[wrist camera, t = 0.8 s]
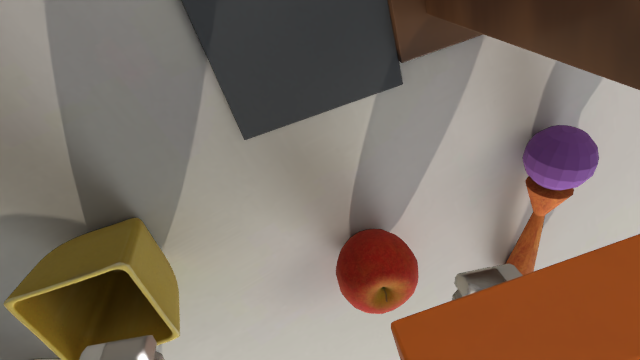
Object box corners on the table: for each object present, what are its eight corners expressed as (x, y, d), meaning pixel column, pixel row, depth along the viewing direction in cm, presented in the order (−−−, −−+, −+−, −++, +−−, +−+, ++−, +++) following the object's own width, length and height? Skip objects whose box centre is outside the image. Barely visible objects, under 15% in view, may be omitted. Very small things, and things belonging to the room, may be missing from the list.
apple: (387, 272, 44) (413, 329, 38) (321, 270, 42) (336, 329, 36) (409, 217, 41) (442, 269, 34) (338, 211, 39) (358, 266, 32)
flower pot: (150, 191, 34) (124, 262, 26) (192, 261, 39) (181, 339, 31) (52, 223, 34) (-2, 303, 26) (107, 289, 38) (75, 374, 31)
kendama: (499, 300, 44) (551, 148, 32) (481, 260, 49) (521, 115, 37) (553, 298, 44) (625, 145, 32) (530, 258, 49) (585, 112, 37)
